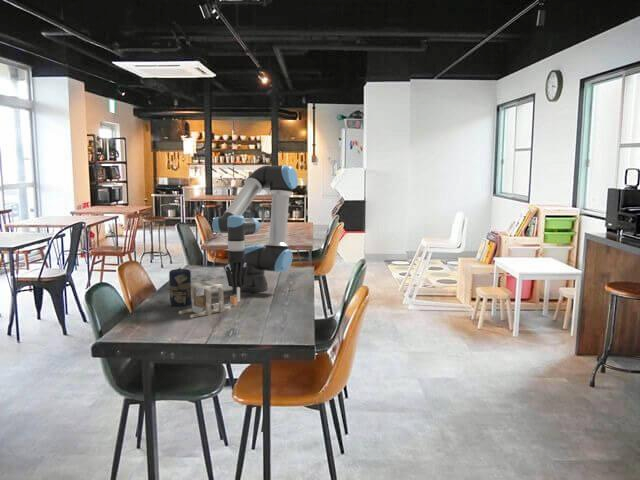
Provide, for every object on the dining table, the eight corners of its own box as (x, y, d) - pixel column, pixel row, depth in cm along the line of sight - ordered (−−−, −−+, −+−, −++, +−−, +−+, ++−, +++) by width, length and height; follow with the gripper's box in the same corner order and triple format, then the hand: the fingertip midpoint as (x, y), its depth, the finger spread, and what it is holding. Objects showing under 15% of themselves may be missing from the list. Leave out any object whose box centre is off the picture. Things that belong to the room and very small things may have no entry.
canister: (170, 309, 255) (168, 270, 252) (169, 304, 264) (168, 266, 262) (192, 308, 257) (191, 269, 255) (190, 303, 266) (189, 265, 264)
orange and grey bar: (230, 303, 262) (230, 295, 261) (240, 306, 257) (240, 297, 256) (192, 311, 247) (192, 302, 246) (201, 314, 242) (201, 305, 242)
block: (204, 307, 250) (204, 294, 249) (211, 309, 247) (211, 296, 246) (196, 308, 247) (195, 296, 246) (202, 310, 244) (202, 298, 243)
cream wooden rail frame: (226, 305, 263) (225, 277, 262) (242, 309, 255) (242, 281, 253) (177, 315, 245) (176, 285, 243) (193, 320, 236) (192, 290, 235)
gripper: (242, 247, 264) (243, 297, 267) (219, 250, 255) (220, 302, 258) (252, 249, 259) (253, 300, 262) (229, 252, 249) (230, 304, 252)
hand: (237, 301), depth 260 cm, fingers closed
